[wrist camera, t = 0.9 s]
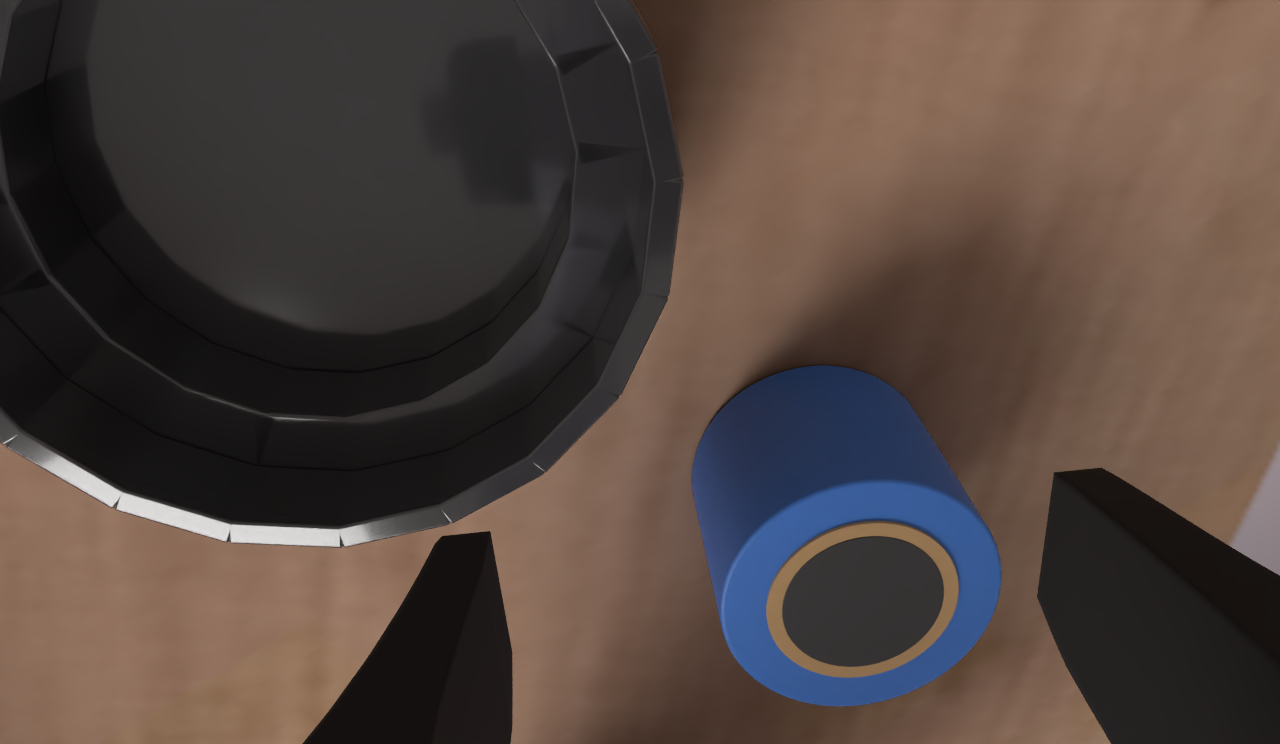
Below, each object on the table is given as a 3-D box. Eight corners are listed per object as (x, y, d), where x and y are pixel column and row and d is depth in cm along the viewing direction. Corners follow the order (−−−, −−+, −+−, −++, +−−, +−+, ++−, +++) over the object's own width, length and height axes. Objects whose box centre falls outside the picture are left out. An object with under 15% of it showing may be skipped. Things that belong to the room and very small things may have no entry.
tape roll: (898, 570, 27) (965, 715, 22) (677, 561, 26) (702, 708, 22) (951, 372, 24) (1038, 490, 20) (708, 356, 24) (743, 475, 19)
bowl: (621, 441, 24) (635, 561, 20) (21, 408, 23) (-90, 531, 19) (694, -199, 19) (734, -206, 15) (-101, -297, 17) (-297, -335, 13)
